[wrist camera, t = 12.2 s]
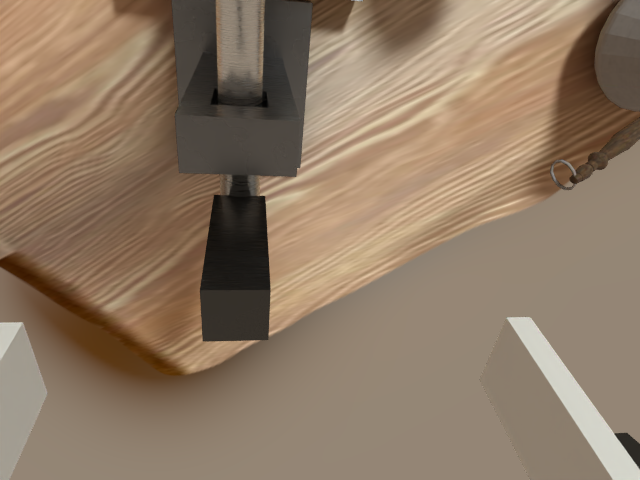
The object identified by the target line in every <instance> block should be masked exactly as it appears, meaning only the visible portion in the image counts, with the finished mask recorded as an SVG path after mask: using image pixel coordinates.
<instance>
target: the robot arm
mask: <svg viewBox="0 0 640 480" xmlns="http://www.w3.org/2000/svg"><path fill="white" fill-rule="evenodd" d="M480 382H481V384H482V386H483V388H484V390H485V392H486V394H487V396H488V398H489V400H490V402H491V403H492V405H493V407H494V410H495V412H496V413H497V415H498V417H499V419H500V421H501V423H502V425H503V427H504V429H505V431H506V433H507V435H508V437H509V439H510V441H511V443H512V445H513V447H514V449H515V451H516V453H517V455H518V457H519V459H520V461H521V463H522V465H523V467H524V469H525V470H526V473H527V475H528V477H529V479H530V480H640V444H639V443H638V442H637V441H636V440H635V439H633V438H632V437H631V436H630V435H629V434H628V433H615V434H614V433H613V432H612V430H611V429H610V428H609V426H608V425H607V423H606V422H605V421H604V419H603V418H602V416H601V415H600V414H599V412H598V411H597V409H596V408H595V407H594V405H593V404H592V403H591V401H590V400H589V398H588V397H587V396H586V394H585V393H584V391H583V390H582V389H581V387H580V386H579V385H578V383H577V382H576V380H575V379H574V377H573V376H572V375H571V373H570V372H569V371H568V369H567V368H566V367H565V365H564V364H563V362H562V361H561V359H560V358H559V357H558V355H557V354H556V352H555V351H554V350H553V348H552V347H551V346H550V344H549V343H548V341H547V340H546V339H545V337H544V336H543V334H542V333H541V332H540V330H539V329H538V327H537V326H536V325H535V323H534V322H533V321H532V319H531V318H530V317H513V318H506V320H505V322H504V325H503V327H502V329H501V331H500V334H499V336H498V338H497V341H496V343H495V345H494V347H493V350H492V352H491V354H490V357H489V359H488V361H487V363H486V366H485V368H484V370H483V373H482V375H481V377H480ZM47 394H48V393H47V390H46V387H45V384H44V381H43V379H42V376H41V373H40V370H39V367H38V364H37V361H36V358H35V355H34V352H33V350H32V347H31V344H30V341H29V338H28V335H27V332H26V329H25V326H24V323H23V322H10V323H9V322H2V323H0V480H9V479H10V477H11V475H12V472H13V470H14V468H15V466H16V463H17V461H18V459H19V457H20V454H21V452H22V450H23V448H24V446H25V443H26V441H27V439H28V437H29V434H30V432H31V430H32V428H33V425H34V423H35V421H36V419H37V417H38V414H39V412H40V410H41V408H42V405H43V403H44V401H45V399H46V396H47Z"/></svg>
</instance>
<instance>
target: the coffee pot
mask: <svg viewBox="0 0 640 480" xmlns="http://www.w3.org/2000/svg"><path fill="white" fill-rule="evenodd" d="M594 67H595V72H596V76H597V80H598V83H599V85H600V87H601V89H602V90H603V92H604V94H605V95H606V97H607V98H608V99H609V100H610V101H612V102H613V103H614V104H616V105H617V106H619V107H620V108H624V109H628V110H632V111H640V0H620V1H619V2H618V4H617V5H616V6H615V8H614V9H613V10H612V12H611V13H610V15H609V17H608V18H607V20H606V22H605V24H604V26H603V28H602V30H601V32H600V36H599V39H598V43H597V46H596V50H595V65H594ZM639 139H640V117H639V118H638V119H636V120H635V121H634V122H632V123H631V124H629V125H628V126H626V127H625V128H624V129H622V130H621V131H619V132H618V133H616V134H615V135H614V136H613V137H612V138H611V140H610V141H609V142H608V143H607V144H606V145H605V146H604V147H603V148H602V149H601V150H600V152H594V153H591V154H590V155H589V157H588V162H587V163H586V164H585V165H582V166H579V167H578V169H577V170H576V171H575V169H574V168H573V167H572V165H571V164H570V163H569V162H567V161H565V160H556V161H555V162H554V163H553V164H552V165H551V169H550V174H551V176H552V179H553V181H554V182H555V183H556V185H557V186H558V187H560V188H562V189H564V190H571V189H573V188H574V186H575V185H576V184H577V183H579V182H581V181H583V180H585V179H587V178H588V177H590V176H591V174H592V172H593V171H595V170H602V169H604V168H605V167H606V166H607V164H608V160H610V159H612V158H614V157H615V156H617V155H619V154H620V153H622V152H624V151H626V150H628V149H629V148H630V147H631V146H633V145H634V144H635V143H636V142H637V141H638V140H639ZM557 162H562V163H564V164H566V165H567V166H568V167H569V168H570V170H571V171H572V173H573V175H572V176H571V177H570V181H571V182H572V183H573V184H574V185H573V186H572V187H567V188H566V187H564V186H563V185H561V184H560V183H559V182H558V181H557V180H556V178H555V176H554V173H553V168H554V164H555V163H557Z"/></svg>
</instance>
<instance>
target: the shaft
mask: <svg viewBox="0 0 640 480" xmlns="http://www.w3.org/2000/svg"><path fill="white" fill-rule="evenodd" d="M264 13H265V0H216V32H217V74H218V105H230V106H247V107H262V88H263V51H264ZM200 300H201V317H202V335H203V341H243V340H268V333H269V311H270V273H269V255H268V238H267V220H266V203H265V196H260V176H258V175H228V174H220V195H214V199H213V206H212V212H211V219H210V226H209V233H208V239H207V246H206V253H205V260H204V266H203V273H202V280H201V287H200Z"/></svg>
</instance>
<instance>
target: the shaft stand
mask: <svg viewBox="0 0 640 480" xmlns="http://www.w3.org/2000/svg"><path fill="white" fill-rule="evenodd" d="M312 6H313V3H312V2H311V1H303V0H265V13H264V51H263V88H262V107H247V106H230V105H218V74H217V32H216V0H172V14H173V28H174V42H175V57H176V71H177V86H178V100H179V106H178V109H177V111H176V113H175V124H176V138H177V151H178V164H179V173H198V174H228V175H258V176H288V177H296V174H297V168H300V164H301V151H302V138H303V125H304V111H305V98H306V85H307V72H308V59H309V46H310V33H311V19H312Z"/></svg>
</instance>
